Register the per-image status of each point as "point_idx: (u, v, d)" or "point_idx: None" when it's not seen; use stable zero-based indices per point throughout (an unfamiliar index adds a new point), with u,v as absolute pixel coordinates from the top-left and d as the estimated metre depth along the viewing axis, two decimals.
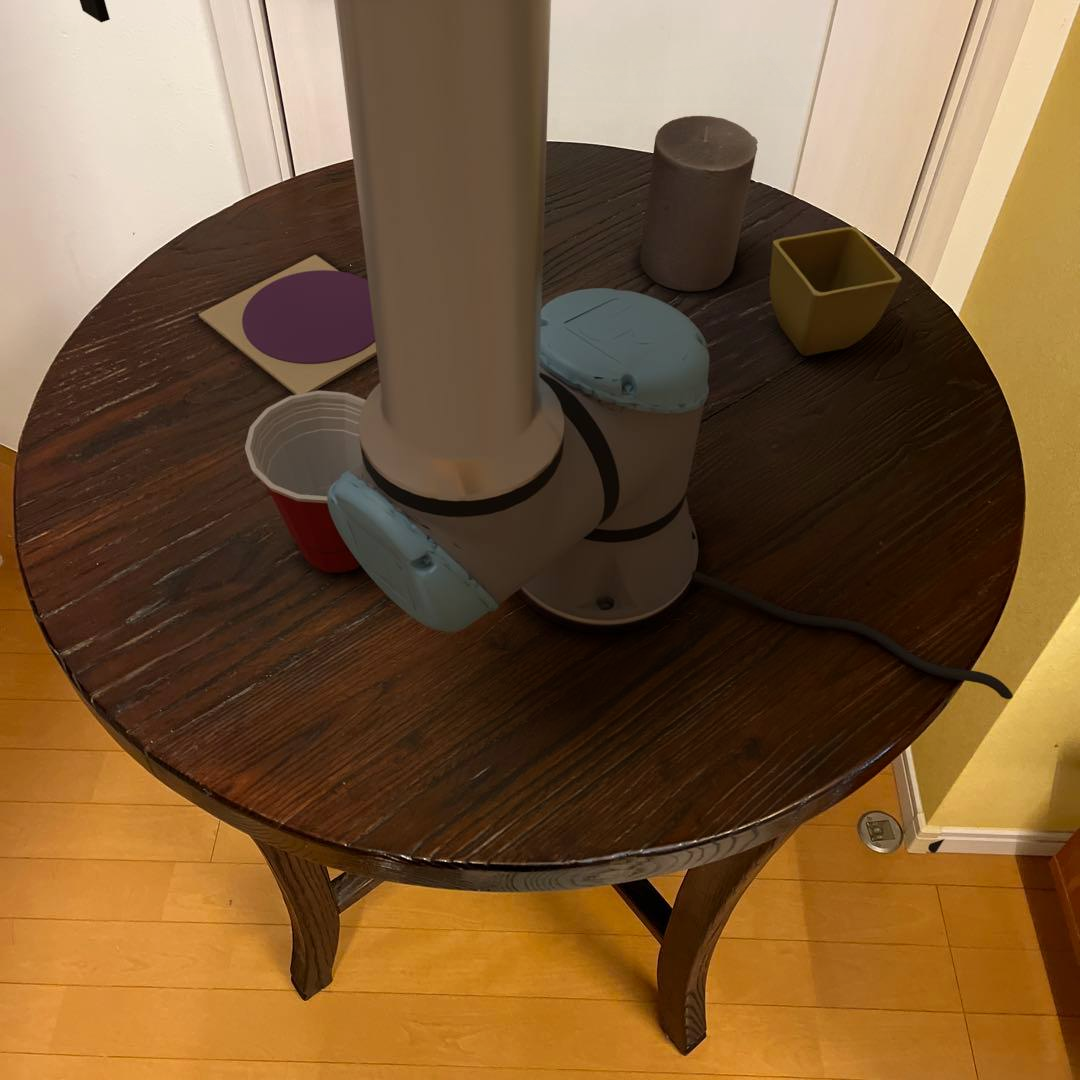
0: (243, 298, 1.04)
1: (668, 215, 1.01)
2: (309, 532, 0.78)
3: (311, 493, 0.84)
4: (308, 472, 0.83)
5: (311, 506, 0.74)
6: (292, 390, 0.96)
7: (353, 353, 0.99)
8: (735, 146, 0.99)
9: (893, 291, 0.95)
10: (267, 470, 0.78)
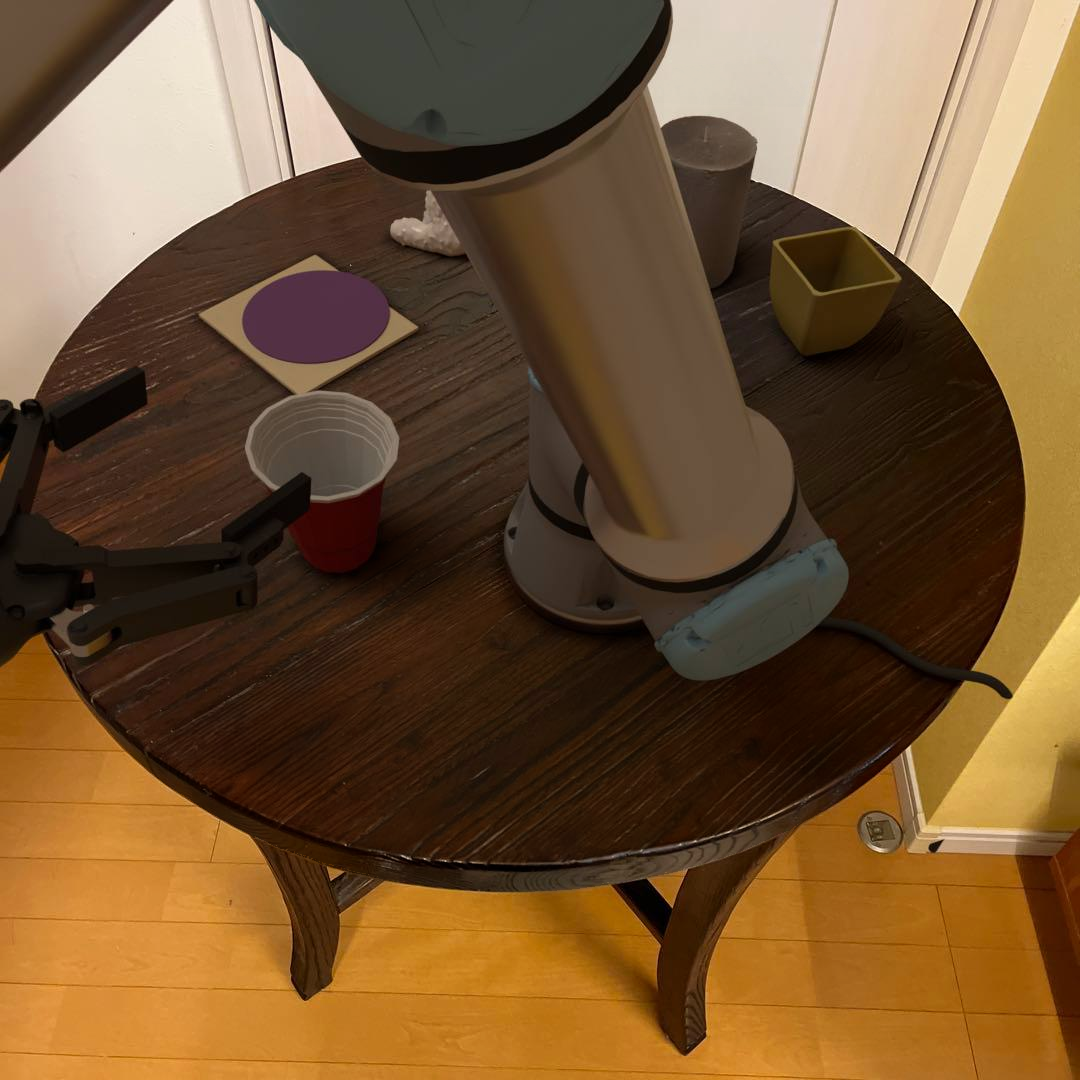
0: (243, 298, 1.04)
1: None
2: (309, 532, 0.78)
3: (311, 493, 0.84)
4: (308, 472, 0.83)
5: (311, 506, 0.74)
6: (292, 390, 0.96)
7: (353, 353, 0.99)
8: (735, 146, 0.99)
9: (893, 291, 0.95)
10: (267, 470, 0.78)
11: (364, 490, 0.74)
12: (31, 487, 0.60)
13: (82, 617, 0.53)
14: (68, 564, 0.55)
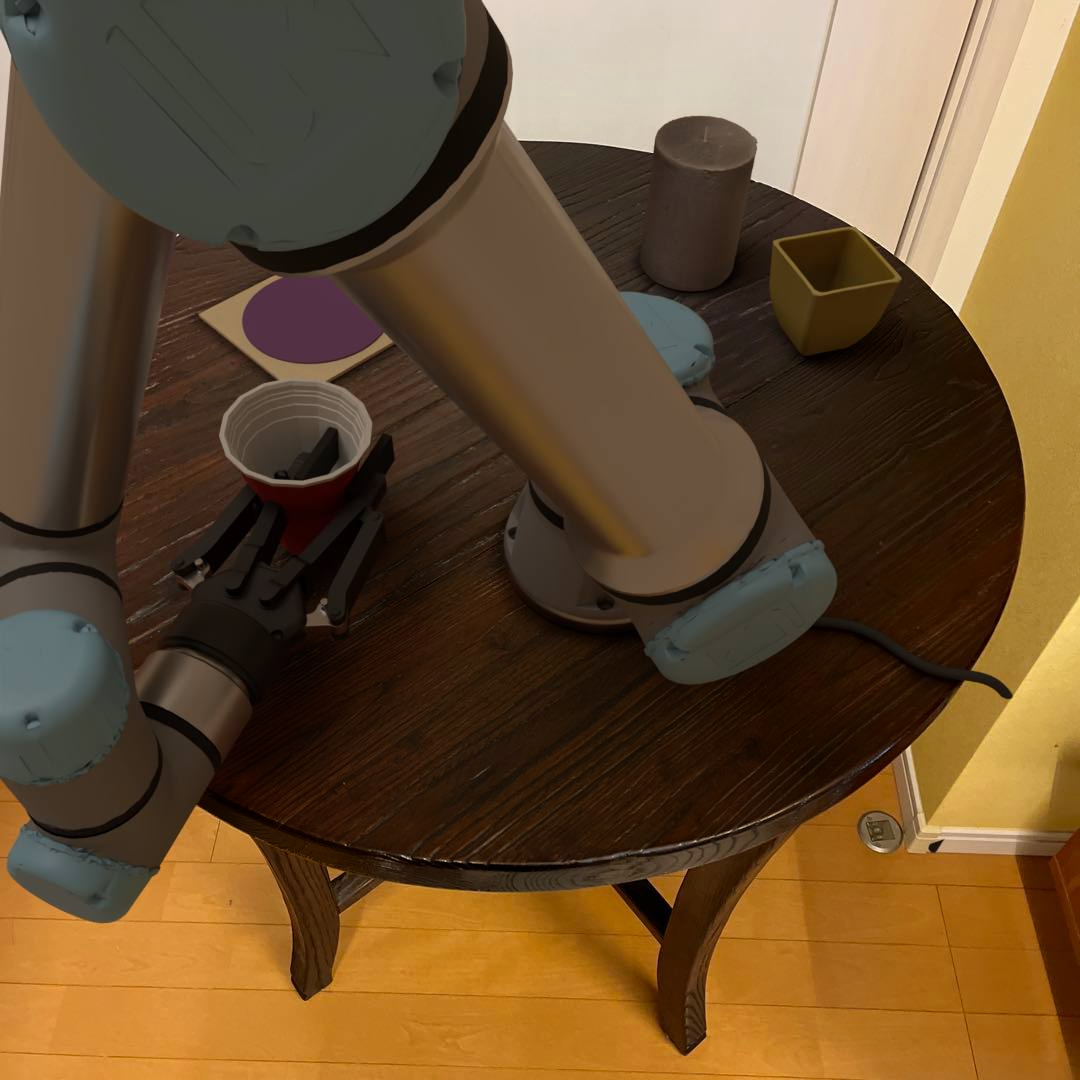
0: (243, 298, 1.04)
1: (668, 215, 1.01)
2: None
3: None
4: (283, 459, 0.83)
5: (286, 491, 0.75)
6: None
7: (353, 353, 0.99)
8: (735, 146, 0.99)
9: (893, 291, 0.95)
10: (242, 457, 0.79)
11: (338, 474, 0.75)
12: (273, 542, 0.76)
13: (329, 607, 0.71)
14: (292, 579, 0.72)
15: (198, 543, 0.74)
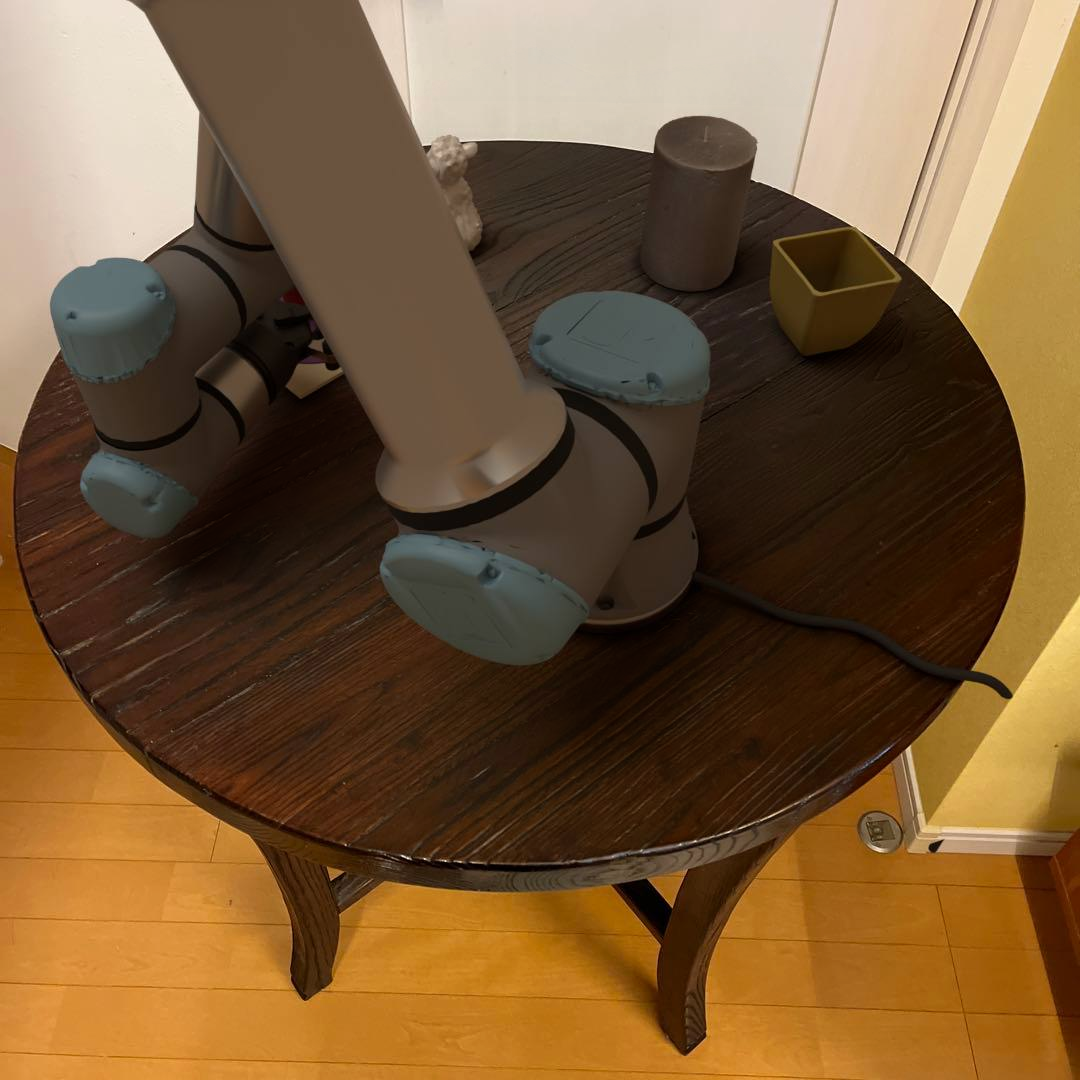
0: None
1: (668, 215, 1.01)
2: None
3: None
4: None
5: None
6: (292, 390, 0.96)
7: None
8: (735, 146, 0.99)
9: (893, 291, 0.95)
10: None
11: None
12: None
13: None
14: (305, 314, 0.88)
15: None
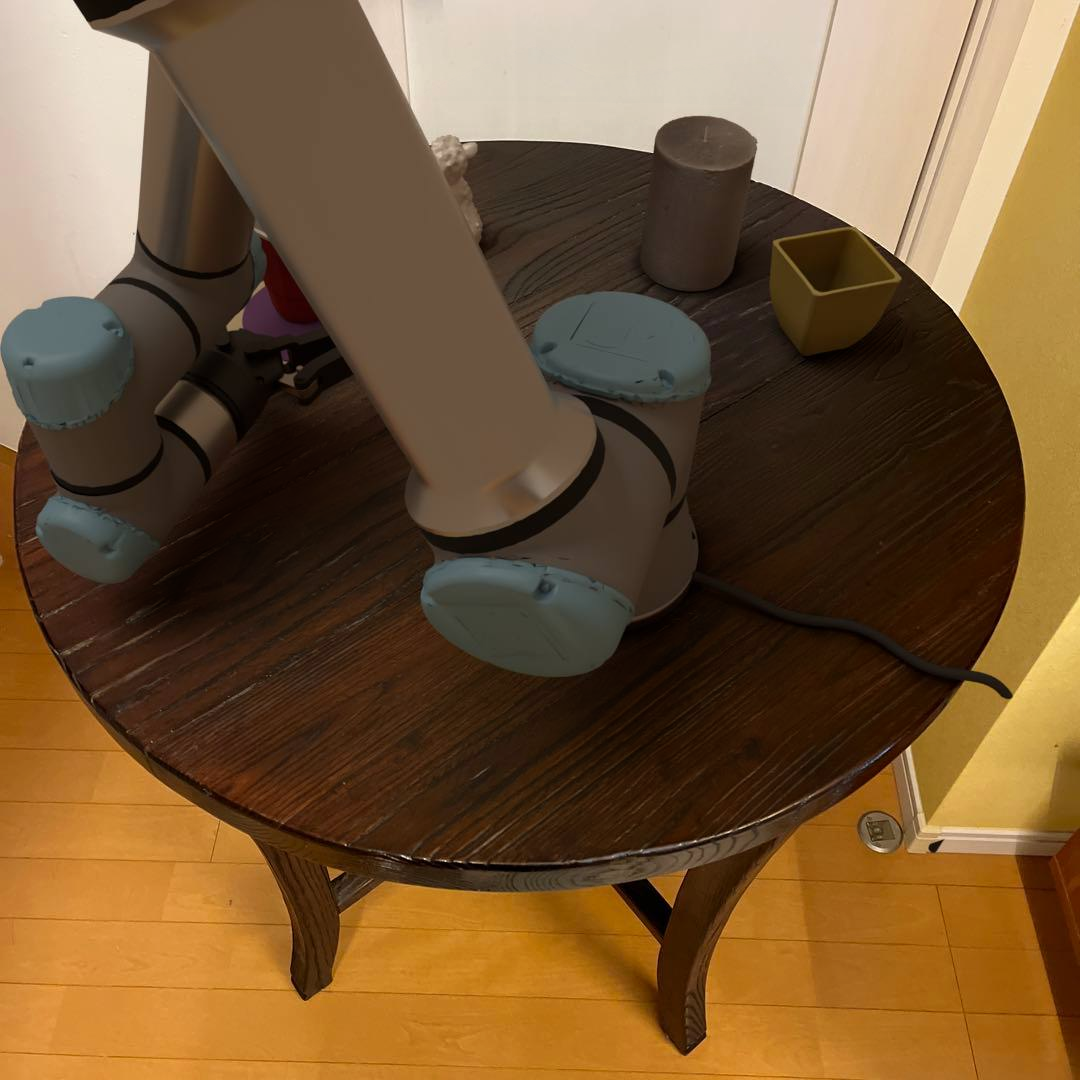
0: None
1: (668, 215, 1.01)
2: (279, 277, 0.96)
3: None
4: None
5: None
6: None
7: None
8: (735, 146, 0.99)
9: (893, 291, 0.95)
10: None
11: None
12: None
13: (299, 373, 0.84)
14: (276, 347, 0.85)
15: None
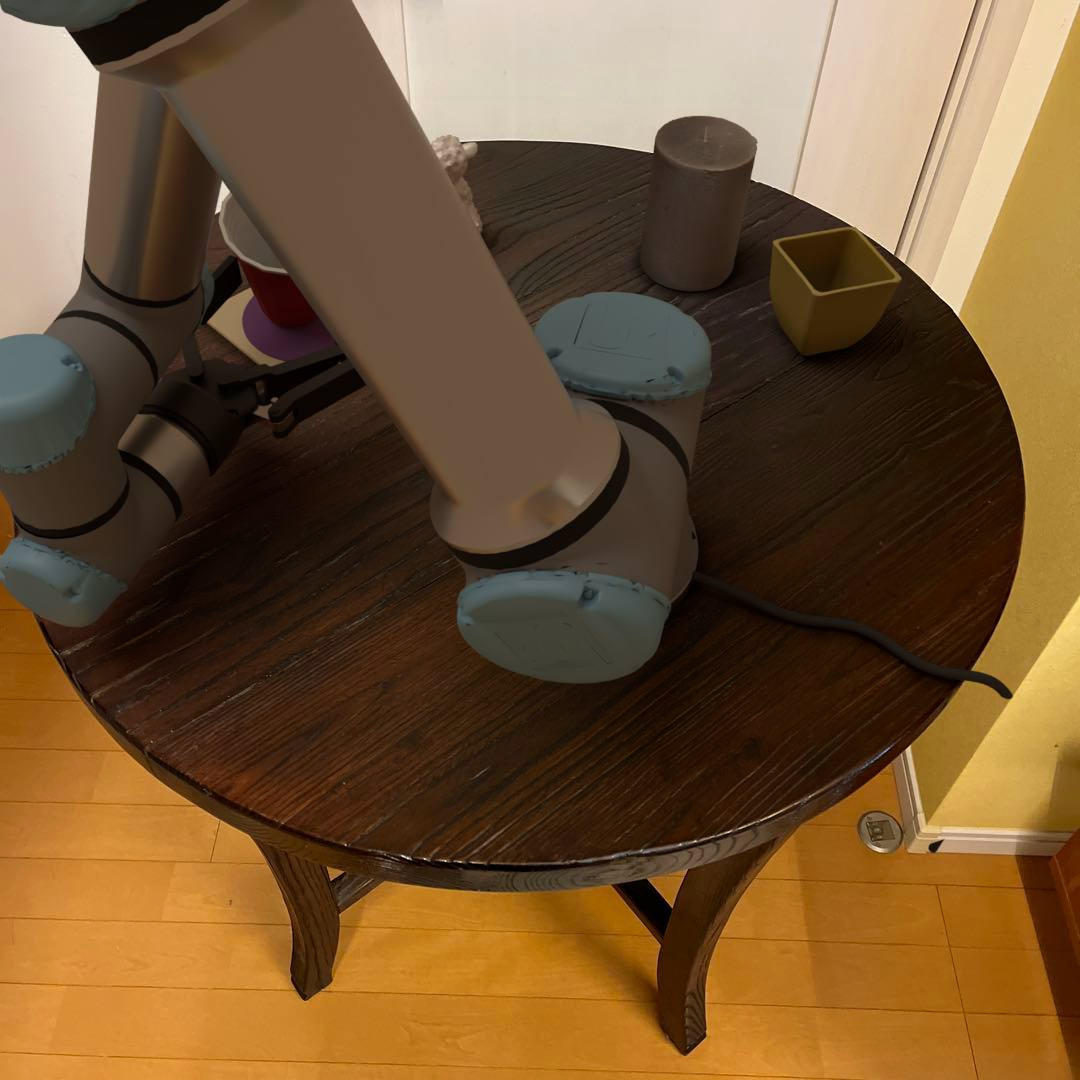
0: (243, 298, 1.04)
1: (668, 215, 1.01)
2: (270, 295, 0.95)
3: (269, 257, 1.00)
4: None
5: (274, 276, 0.91)
6: None
7: None
8: (735, 146, 0.99)
9: (893, 291, 0.95)
10: (235, 239, 0.93)
11: None
12: (198, 347, 0.88)
13: (274, 405, 0.82)
14: (251, 378, 0.83)
15: None
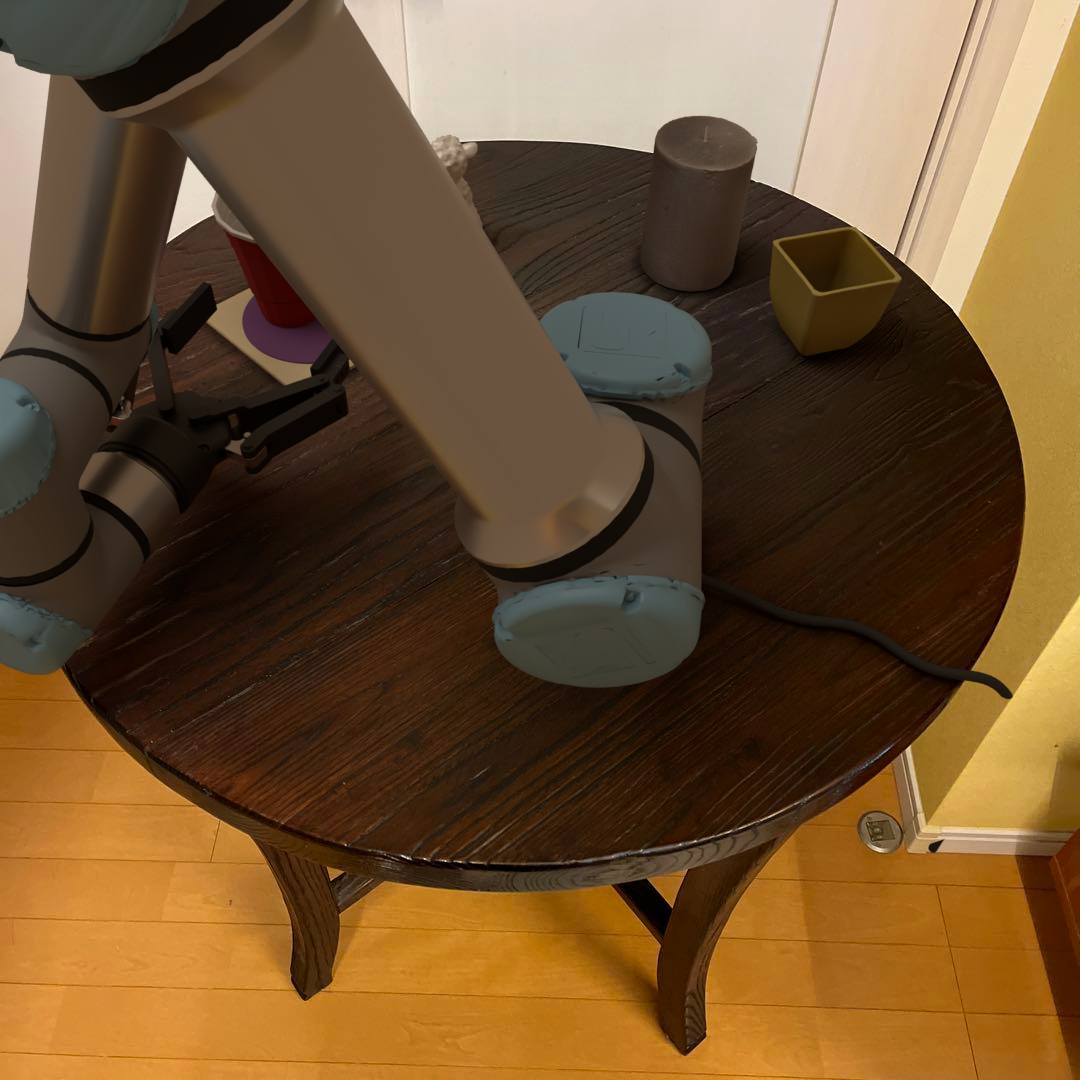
0: (243, 298, 1.04)
1: (668, 215, 1.01)
2: (265, 281, 0.96)
3: None
4: None
5: None
6: None
7: None
8: (735, 146, 0.99)
9: (893, 291, 0.95)
10: None
11: None
12: (170, 378, 0.85)
13: (246, 440, 0.79)
14: (223, 412, 0.80)
15: None
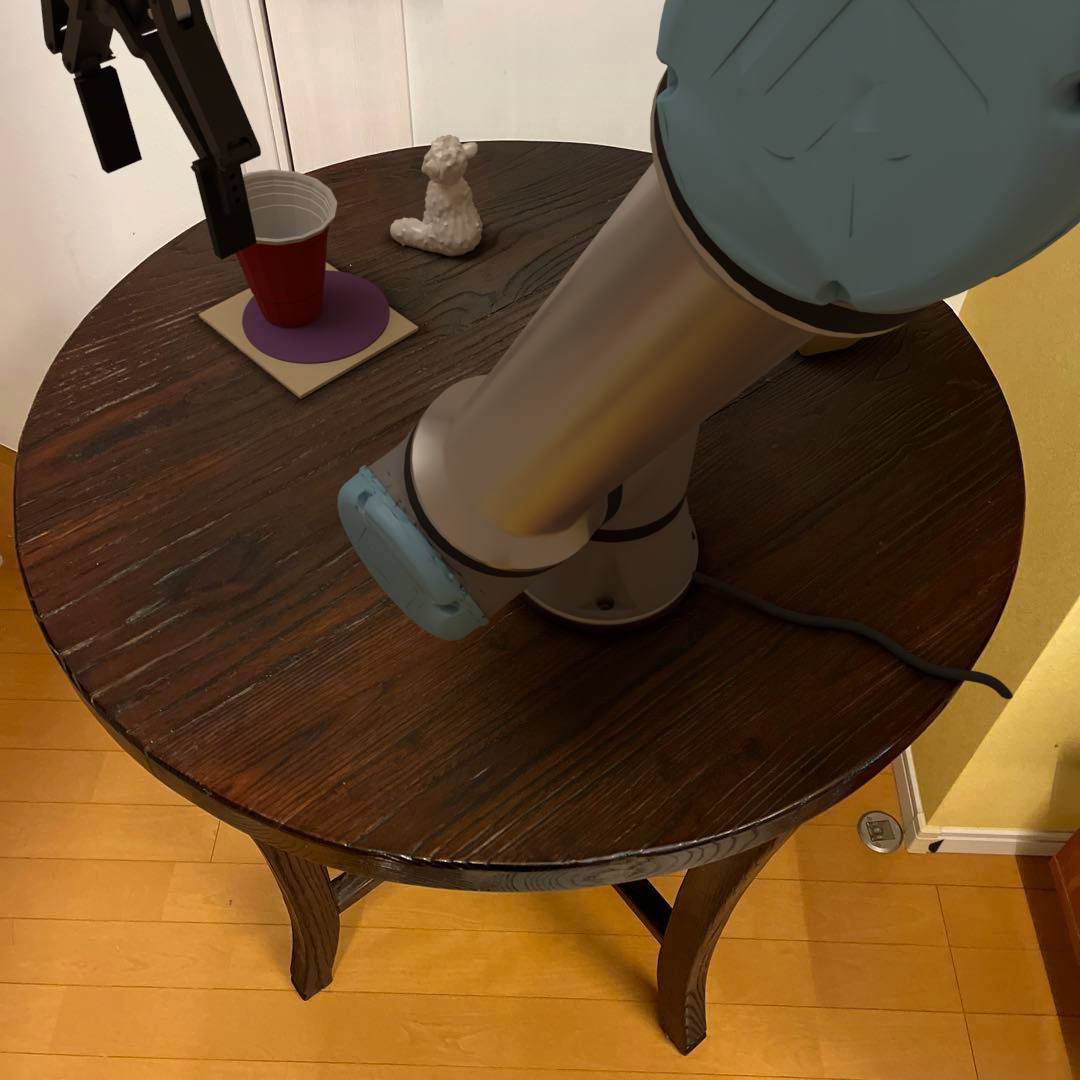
0: (243, 298, 1.04)
1: None
2: (265, 281, 0.96)
3: None
4: None
5: (265, 250, 0.92)
6: (292, 390, 0.96)
7: (353, 353, 0.99)
8: None
9: None
10: None
11: (307, 236, 0.92)
12: (95, 29, 0.65)
13: None
14: None
15: None
